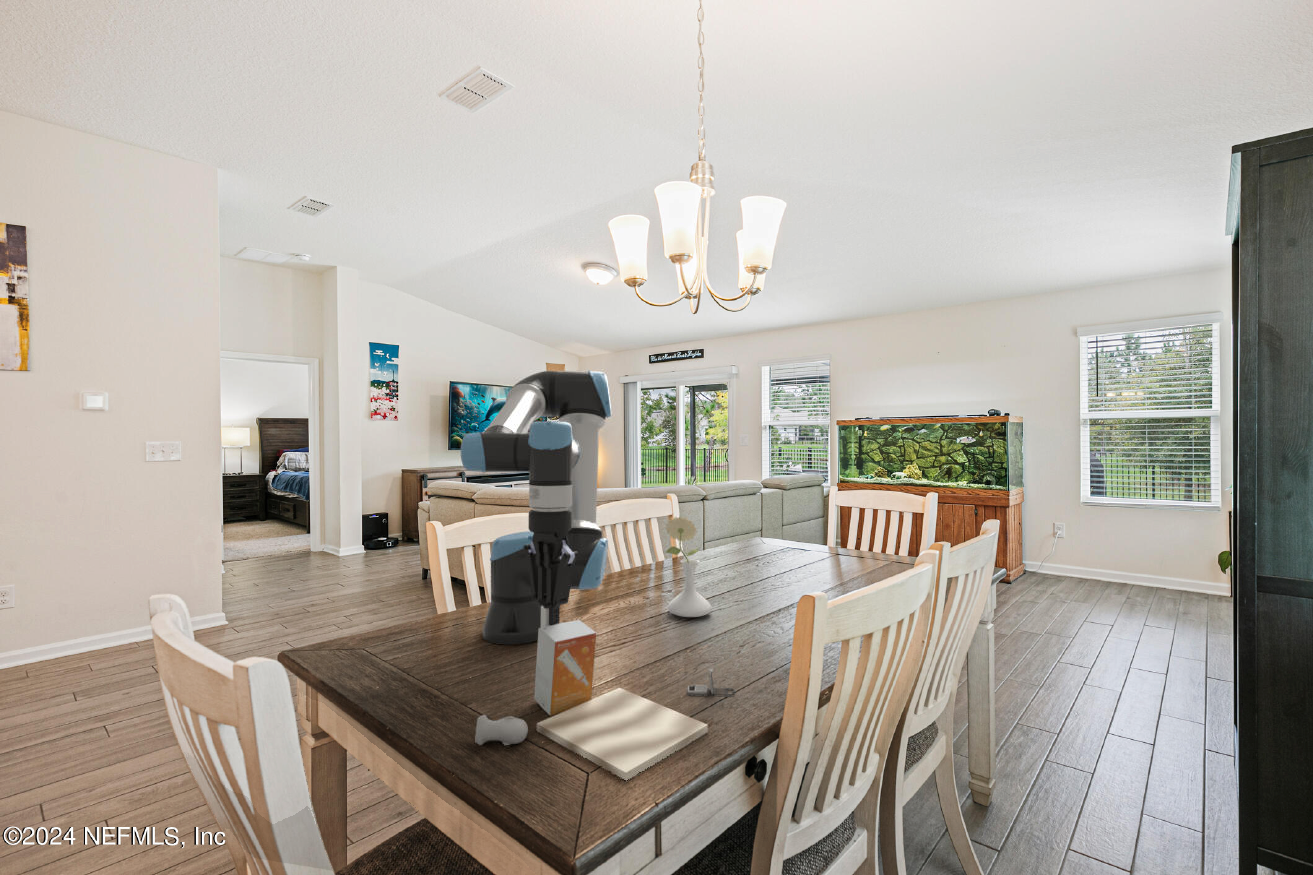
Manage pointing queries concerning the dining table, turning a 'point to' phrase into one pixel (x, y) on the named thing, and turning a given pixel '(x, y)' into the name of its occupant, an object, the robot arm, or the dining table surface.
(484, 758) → the dining table surface
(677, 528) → the flower in vase
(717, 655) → the dining table surface
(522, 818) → the dining table surface
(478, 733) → the smooth white sculpture
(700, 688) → the strap clip
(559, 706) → the small box
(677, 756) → the dining table surface
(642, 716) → the birch board
